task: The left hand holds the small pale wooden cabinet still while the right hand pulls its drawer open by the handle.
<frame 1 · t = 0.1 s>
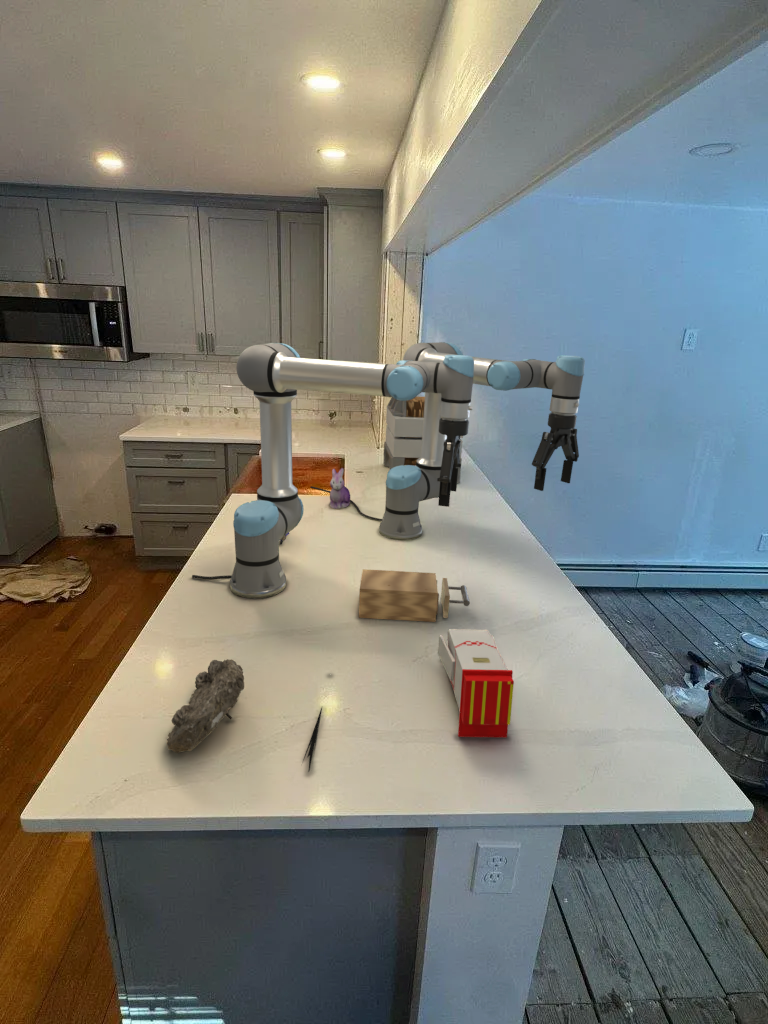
left hand: (447, 498, 151), 28 cm above the counter, tool pointing down, fingers open, 13 cm apart
right hand: (552, 485, 166), 28 cm above the counter, tool pointing down, fingers open, 13 cm apart
figurine character: (279, 538, 191), on the counter
figurine: (339, 505, 225), on the counter
feather: (319, 719, 109), on the counter
fossil: (212, 717, 108), on the counter
toy: (469, 691, 119), on the counter
drawer: (422, 596, 148), point 4 cm above the counter, slide at 1.9 cm
cabinet: (397, 608, 150), on the counter
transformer: (419, 473, 275), on the counter
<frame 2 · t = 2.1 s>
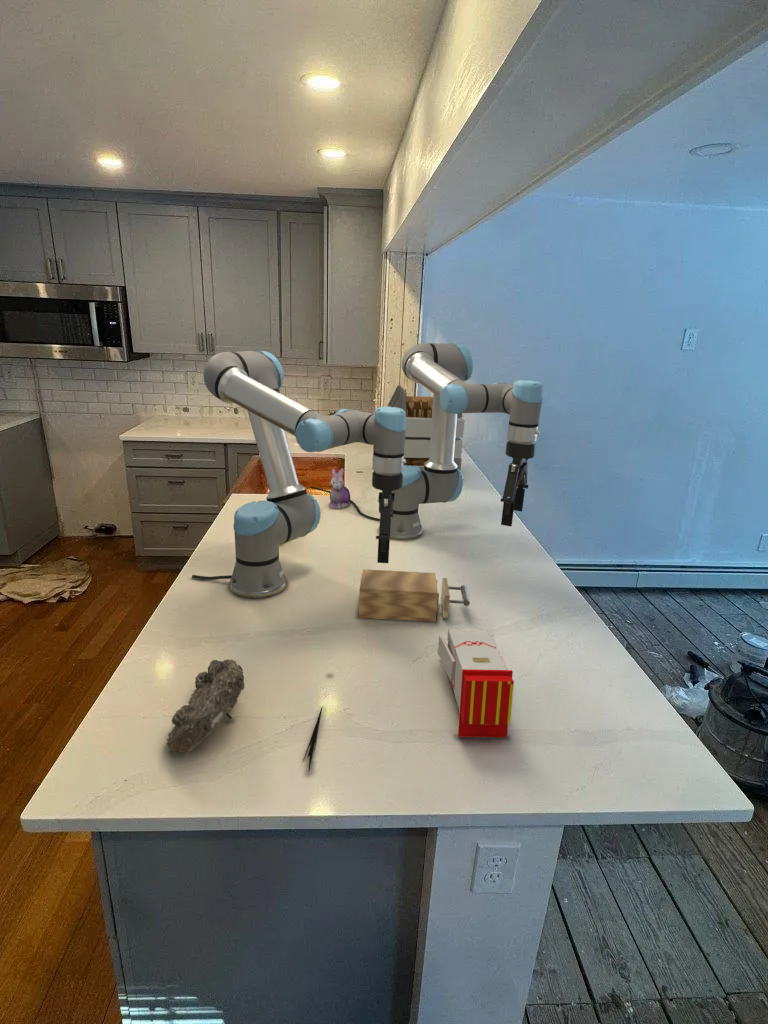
left hand: (383, 551, 146), 16 cm above the counter, tool pointing down, fingers open, 13 cm apart
right hand: (511, 517, 155), 22 cm above the counter, tool pointing down, fingers open, 13 cm apart
nothing on the counter moved.
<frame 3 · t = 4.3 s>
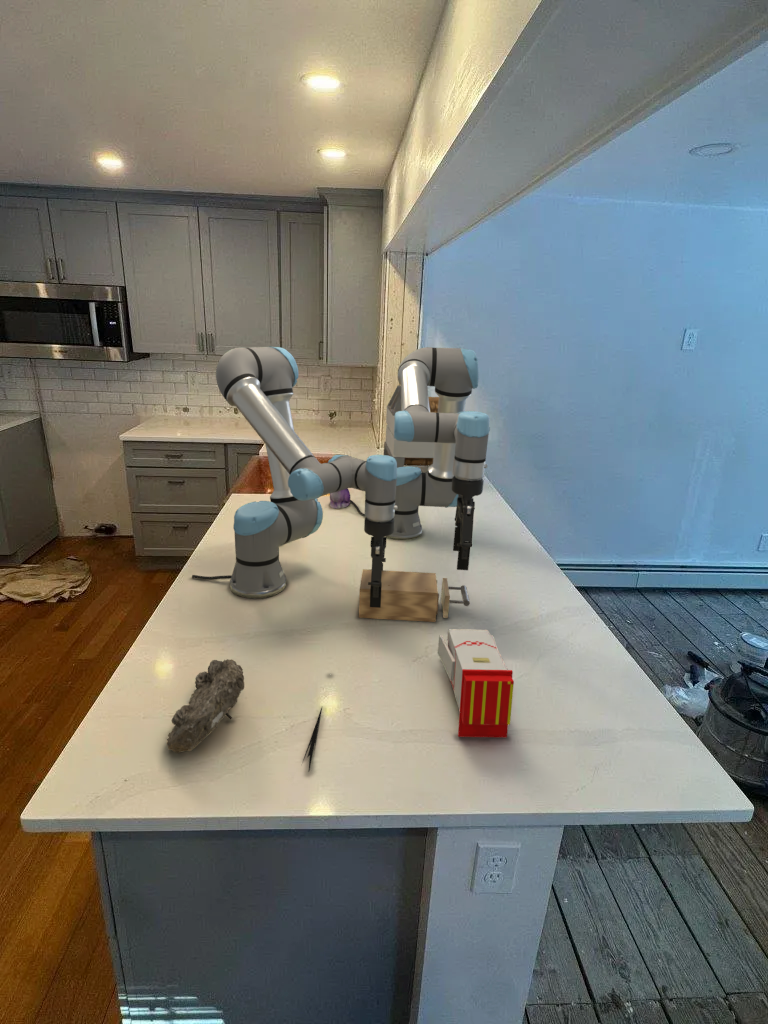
left hand: (376, 595, 149), 4 cm above the counter, tool pointing down, fingers closed on cabinet, 11 cm apart
right hand: (460, 559, 145), 15 cm above the counter, tool pointing down, fingers open, 11 cm apart
cabinet: (397, 608, 150), on the counter, touching left hand
everything else where it was.
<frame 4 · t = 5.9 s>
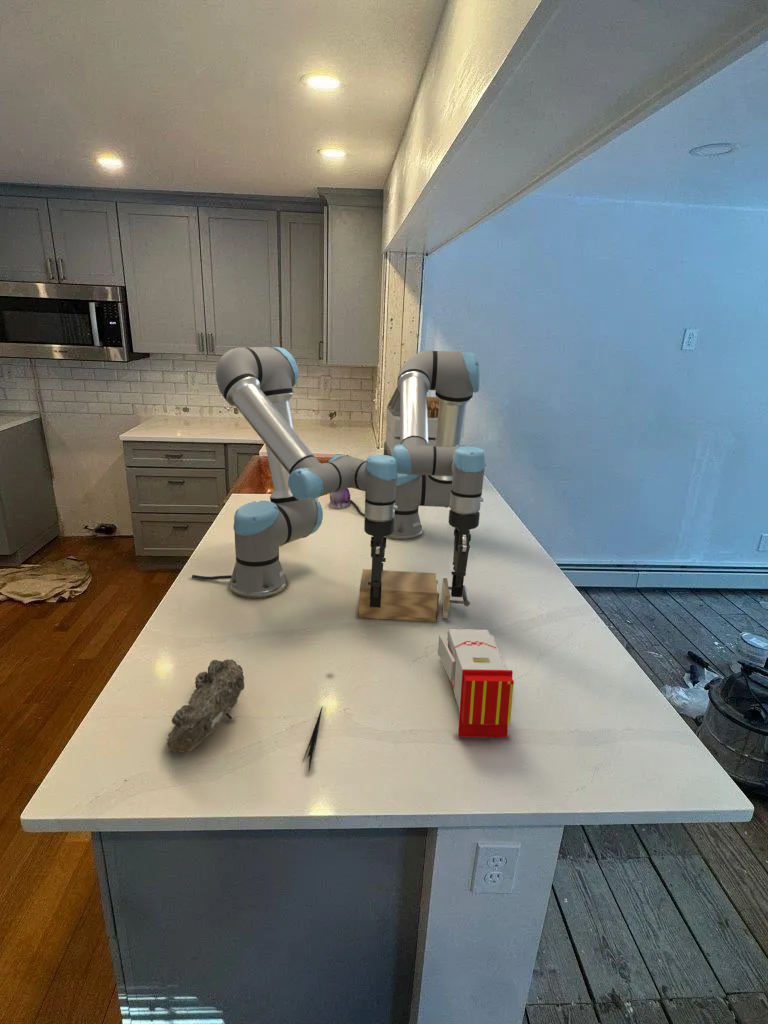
left hand: (376, 595, 149), 4 cm above the counter, tool pointing down, fingers closed on cabinet, 11 cm apart
right hand: (456, 595, 148), 5 cm above the counter, tool pointing down, fingers closed
drawer: (422, 596, 148), point 4 cm above the counter, slide at 2.0 cm, touching right hand
cabinet: (397, 608, 150), on the counter, touching left hand
everything else where it was.
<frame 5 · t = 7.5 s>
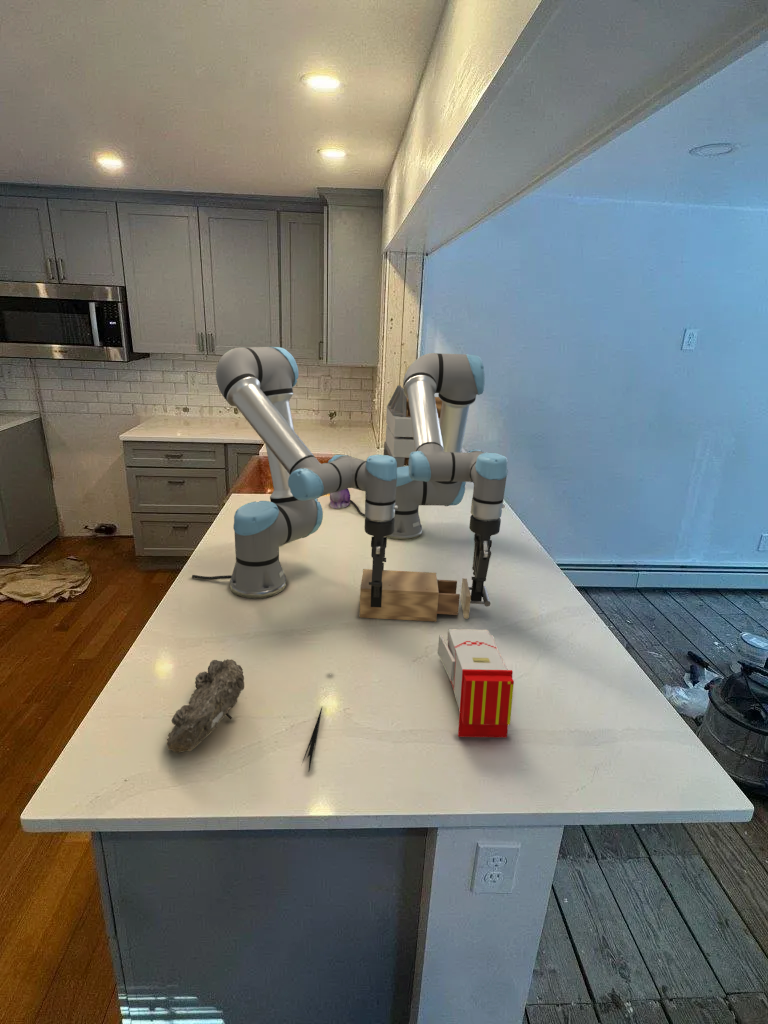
left hand: (377, 595, 149), 4 cm above the counter, tool pointing down, fingers closed on cabinet, 11 cm apart
right hand: (475, 600, 149), 4 cm above the counter, tool pointing down, fingers closed
drawer: (442, 596, 148), point 4 cm above the counter, slide at 7.0 cm, touching right hand
cabinet: (398, 608, 150), on the counter, touching left hand
everything else where it was.
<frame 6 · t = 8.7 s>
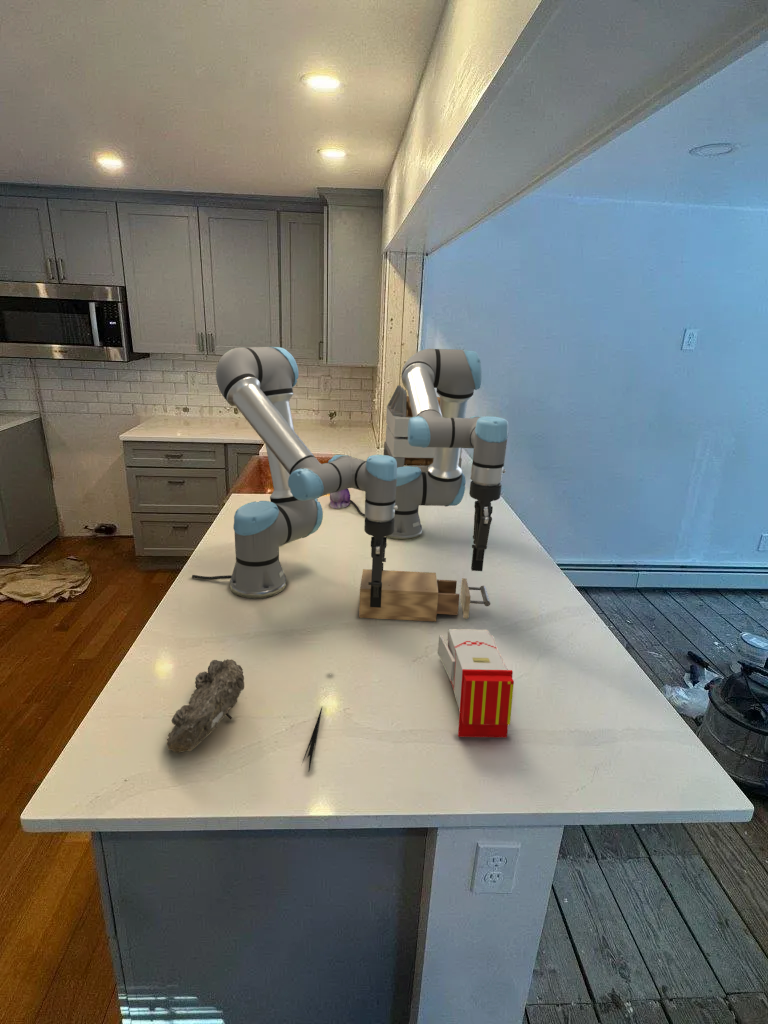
left hand: (376, 595, 149), 4 cm above the counter, tool pointing down, fingers closed on cabinet, 11 cm apart
right hand: (476, 569, 145), 13 cm above the counter, tool pointing down, fingers closed
drawer: (442, 596, 148), point 4 cm above the counter, slide at 7.0 cm
cabinet: (397, 608, 150), on the counter, touching left hand
everything else where it was.
when the left hand's fingers open (4 cm above the counter, at t = 9.2 s): cabinet stays where it is, on the counter.
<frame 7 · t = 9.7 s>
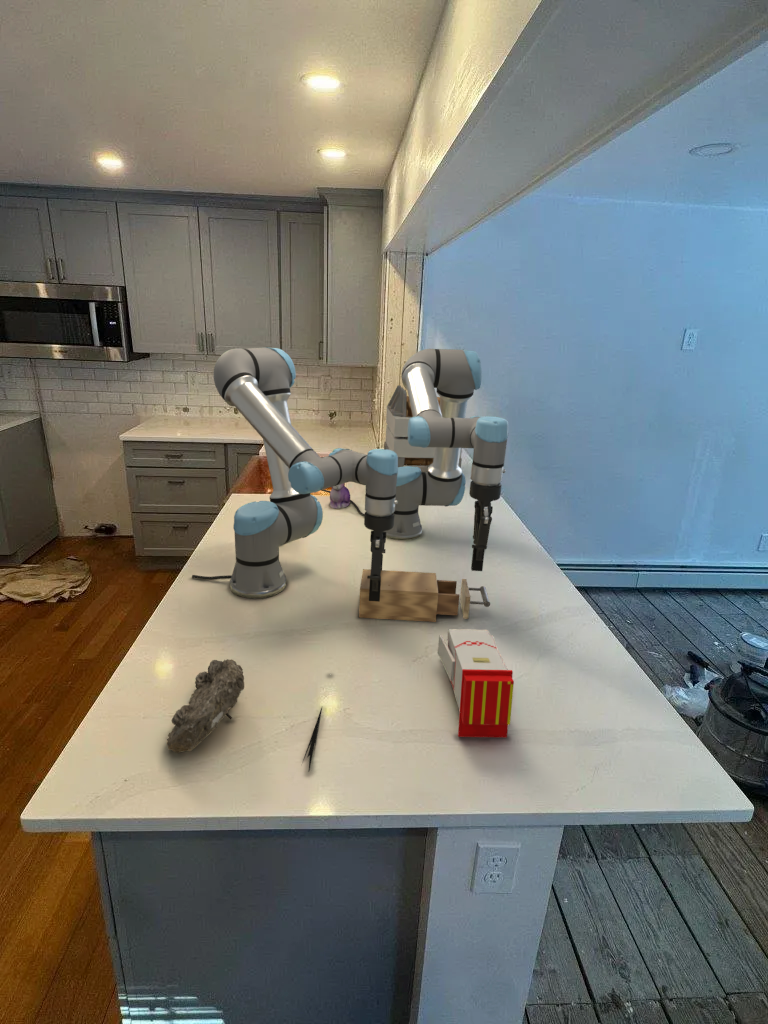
left hand: (375, 587, 148), 6 cm above the counter, tool pointing down, fingers open, 13 cm apart
right hand: (476, 569, 145), 13 cm above the counter, tool pointing down, fingers closed
cabinet: (397, 608, 150), on the counter
everything else where it was.
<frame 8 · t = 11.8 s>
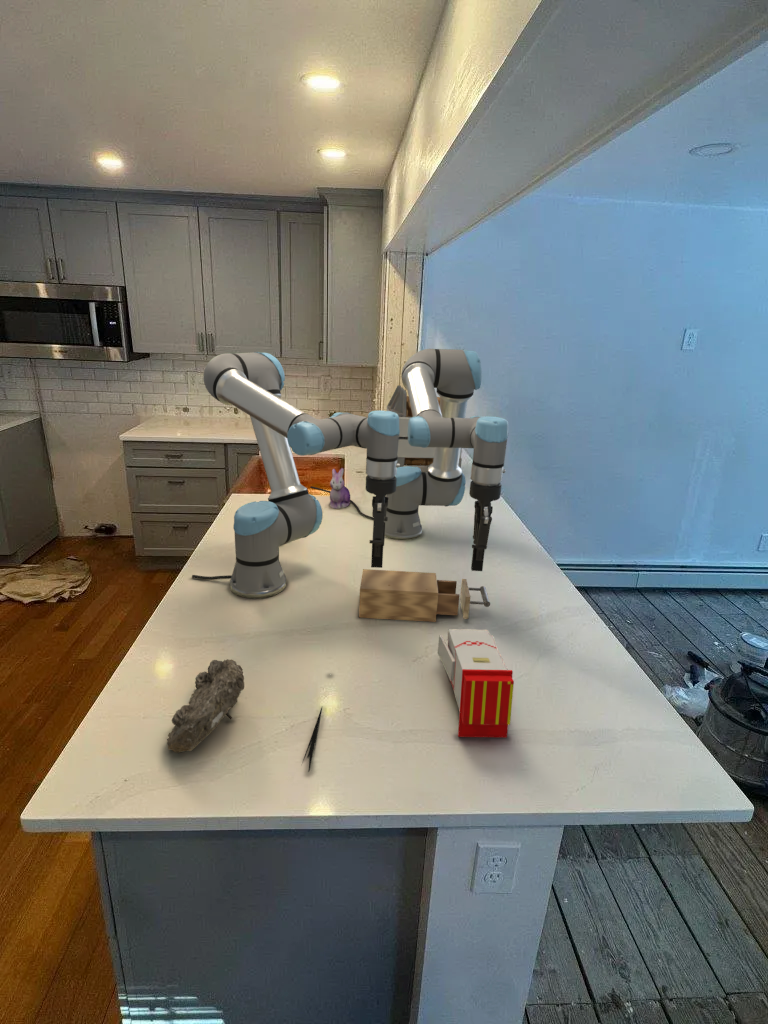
left hand: (377, 555, 145), 15 cm above the counter, tool pointing down, fingers open, 13 cm apart
right hand: (476, 569, 145), 13 cm above the counter, tool pointing down, fingers closed
nothing on the counter moved.
at the end: drawer slide at 7.0 cm; cabinet tilted 0°; cabinet never tilted more than 1° during the clip; cabinet moved 0.1 cm from its start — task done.
